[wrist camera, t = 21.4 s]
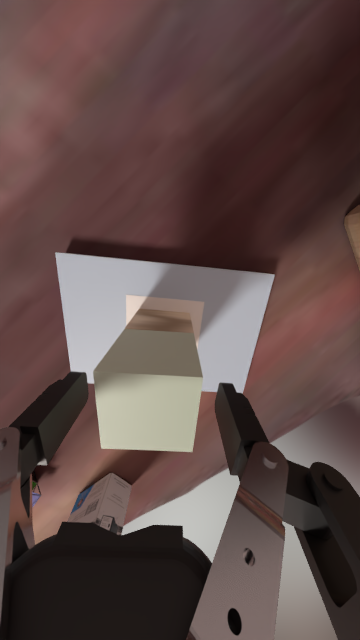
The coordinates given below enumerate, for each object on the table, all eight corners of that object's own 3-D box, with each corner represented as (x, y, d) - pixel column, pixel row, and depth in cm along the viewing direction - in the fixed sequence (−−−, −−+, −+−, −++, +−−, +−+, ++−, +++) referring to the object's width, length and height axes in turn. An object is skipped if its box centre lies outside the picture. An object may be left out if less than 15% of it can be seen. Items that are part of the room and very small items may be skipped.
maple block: (138, 352, 19) (125, 384, 14) (139, 308, 17) (124, 327, 13) (184, 356, 19) (186, 388, 14) (189, 312, 17) (193, 333, 13)
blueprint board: (79, 373, 22) (72, 382, 20) (65, 252, 17) (54, 252, 15) (238, 385, 22) (242, 394, 21) (267, 273, 18) (275, 274, 16)
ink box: (100, 505, 31) (57, 643, 20) (76, 493, 30) (16, 633, 19) (133, 484, 29) (106, 623, 18) (109, 470, 28) (64, 610, 17)
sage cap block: (126, 385, 14) (101, 448, 10) (124, 328, 13) (92, 371, 8) (187, 388, 14) (192, 451, 10) (193, 333, 13) (203, 377, 8)
